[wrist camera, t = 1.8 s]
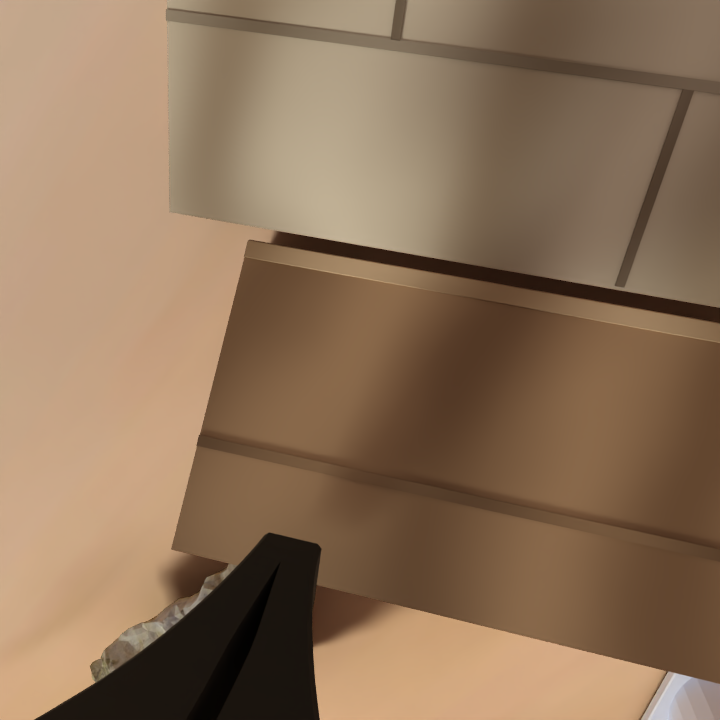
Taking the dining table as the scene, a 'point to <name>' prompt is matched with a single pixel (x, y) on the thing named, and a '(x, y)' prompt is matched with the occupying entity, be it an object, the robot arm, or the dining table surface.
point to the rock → (152, 628)
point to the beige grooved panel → (461, 131)
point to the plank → (471, 452)
